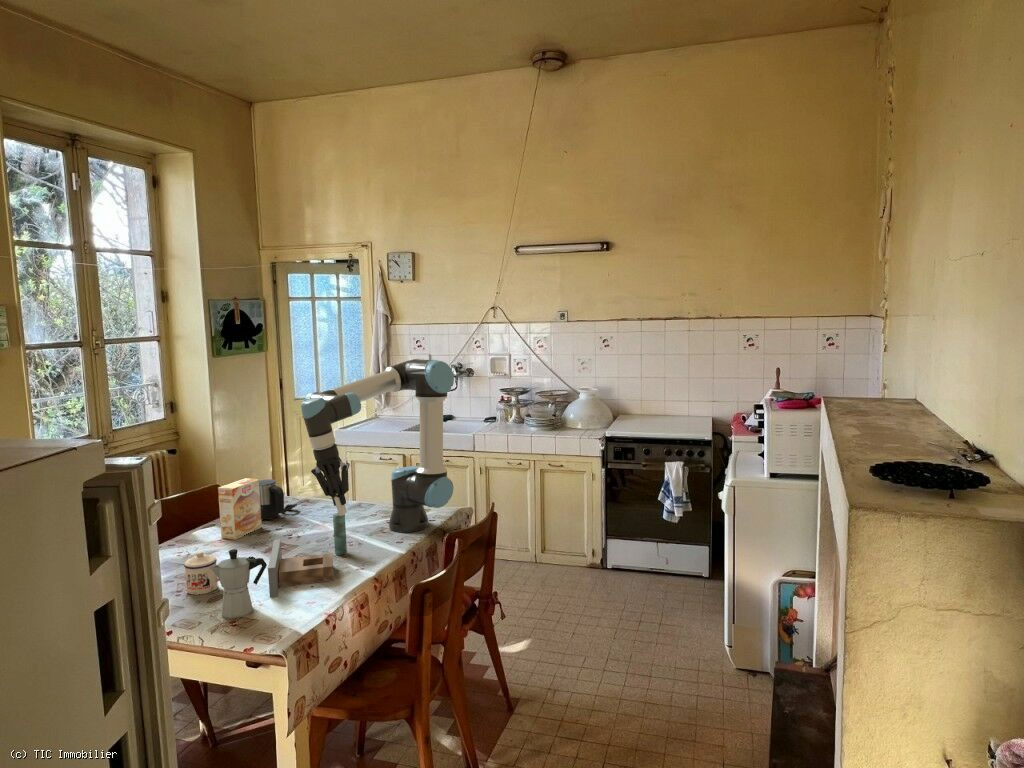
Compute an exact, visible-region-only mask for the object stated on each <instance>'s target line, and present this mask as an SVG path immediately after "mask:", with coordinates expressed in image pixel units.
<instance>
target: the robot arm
mask: <svg viewBox="0 0 1024 768" xmlns="http://www.w3.org/2000/svg"><path fill="white" fill-rule="evenodd" d="M454 376H455V375H454V372H453V370H452V368H451V366H449V364H448V363H447V362H446V361H443V360H438V359H417V358H416V359H409V360H406V361H402V362H400V363H397V364H394V365H390V366H388V367H386V368H385V369H384V371H382V372H379V373H375V374H373V375H369V376H367V377H364V378H361V379H357V380H355V381H352V382H349V383H348V382H347V383H346V384H342V385H340V386H337V387H333V388H331V389H327V390H324V391H321V392H310V393H308V394H307V395H306V396H305V397H304V398H303V399H304V400H303V401H302V403H301V404H300V409H301V414H302V419H303V421H304V424H305V427H306V428H305V429H306V431H307V434H308V439H309V443H310V446H311V449H313V450H312V453H313V457H314V459H315V460H314V461H316V463H315V467H314V468H312V469H311V471H310V472H311V474H313V475H314V476H315V479H316V480H317V483H318V484H319V486H320V487H321V489H322V492H323V493H324V494H323V495H324V496H325V497H331V500H332V504H333V506H335V507H336V510H337V513H338V514H339V516H343V515H344V514H345V515H346V514H347V513H348V510H347V507H346V504H347V499H346V495H345V494H346V493H347V492H349V490H350V488H349V487H350V484H349V482H350V481H349V468H350V463H349V462H347V463H346V462H343V461H342V459H341V458H340V453H339V449H338V445H337V443H336V438H335V435H334V431H333V426H332V424H335V423H337V422H339V421H342V420H346V419H347V418H351V417H353V416H355V415H357V414H359V413H360V412H361V410H362V403H361V402H364V401H366V400H370V399H373V398H375V397H377V396H381V395H384V394H386V393H389V392H393V393H398V392H400V391H407V390H408V391H414V392H415V398H416V399H417V400H418V401H419V465H411V466H410V465H409V466H404V467H398V468H395V469H394V470H393V471H391V480H390V482H391V495H392V497H391V498H392V509H391V510H392V511H391V514H390V516H389V521H388V527H389V529H390V531H393V532H397V533H412V532H413V531H414V532H419V531H422V530H425V529H427V528H428V527H429V526H428V525H430V524H429V523H430V522H429V517H428V515H427V511H426V509H425V507H428V508H435V509H440V508H442V507H444V506H446V505H447V504H448V503H449V501H450V500H451V499H452V497H453V493H454V483H453V480H451V479H450V478H449V477H448V469H447V468H446V467H445V466H444V401H445V400H446V399H447V398H448V392H449V391H451V389H452V387H453V386H454V382H455V377H454ZM340 470H341V471H340ZM340 474H341V475H340ZM426 527H427V528H426ZM424 528H425V529H424ZM418 530H419V531H418Z"/></svg>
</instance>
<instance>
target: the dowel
mask: <svg viewBox="0 0 1024 768" xmlns="http://www.w3.org/2000/svg"><path fill="white" fill-rule="evenodd" d="M332 523H333V525H332V526H333V542H334V543H333V544H334V554H336V555H335V556H337V555H342V556H344V555H343V554H345V555H347V554H346V553H348V548H347V530H346V529H347V528H346V513H345V514H344V515H343V516H339V514H338V512H335V513H333V514H332Z"/></svg>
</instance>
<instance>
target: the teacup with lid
mask: <svg viewBox="0 0 1024 768" xmlns="http://www.w3.org/2000/svg"><path fill="white" fill-rule="evenodd" d="M217 562H218V560H217V558H216V556H214V555H210V554H205V553H204V552H203V551H198V552H197V551H196V553H195V555H194V556H193V557H190V558H188V559H187V560H186V561H185V562H184V564H183V567H184V571H185V572H184V573H185V584H186V592H187V593H188V595H193V594H194V595H196V596H197V595H199V594H200V595H205V594H208V593H212V592H213V590H214V591H215V590H216V589H218V587H219V583H218V582H220V580H219V578H218V577H217V576H216V574H215V573H214V572H213V570H211V569H209V568H211V567H213V566H216V565H217ZM194 595H193V596H194Z"/></svg>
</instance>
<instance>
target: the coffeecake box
mask: <svg viewBox="0 0 1024 768" xmlns="http://www.w3.org/2000/svg"><path fill="white" fill-rule="evenodd" d="M259 480H260V479H259V478H249V477H248V478H246V477H245V478H242V479H239V480H236V481H234V482H231V483H228V484H224V485H222V486H218V487H217V491H218V492H217V493H218V505H219V506H218V507H219V520H220V521H219V523H220V535H221V539H228V540H234V541H235V540H238V539H240V538H242V537H245V536H247V535H248V533H249V534H251V533H252V532H255V531H258V530H259V529H261V527H263V525H262V520H261V508H260V492H259ZM254 530H255V531H254ZM250 532H251V533H250ZM246 534H247V535H246ZM244 535H245V536H244Z"/></svg>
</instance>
